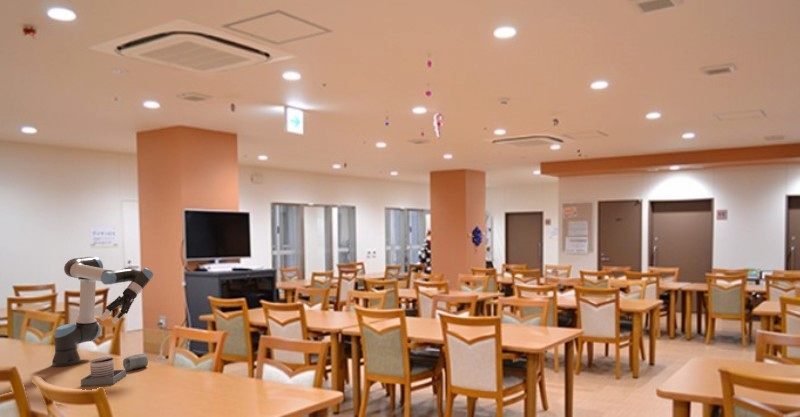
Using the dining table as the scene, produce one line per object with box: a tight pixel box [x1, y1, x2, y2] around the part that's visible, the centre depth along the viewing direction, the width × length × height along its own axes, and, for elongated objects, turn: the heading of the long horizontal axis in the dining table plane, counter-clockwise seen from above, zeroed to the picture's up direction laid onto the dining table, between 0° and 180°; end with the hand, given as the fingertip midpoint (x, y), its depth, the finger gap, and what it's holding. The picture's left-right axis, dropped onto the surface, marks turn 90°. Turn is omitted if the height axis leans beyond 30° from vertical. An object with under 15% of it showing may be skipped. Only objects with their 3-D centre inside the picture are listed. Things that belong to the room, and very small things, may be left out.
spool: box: [122, 353, 149, 372], centre depth 339 cm, size 14×10×10 cm
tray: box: [80, 369, 127, 387], centre depth 316 cm, size 17×17×4 cm
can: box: [89, 355, 115, 379], centre depth 315 cm, size 11×11×12 cm
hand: (107, 321), depth 330 cm, fingers open, 13 cm apart
